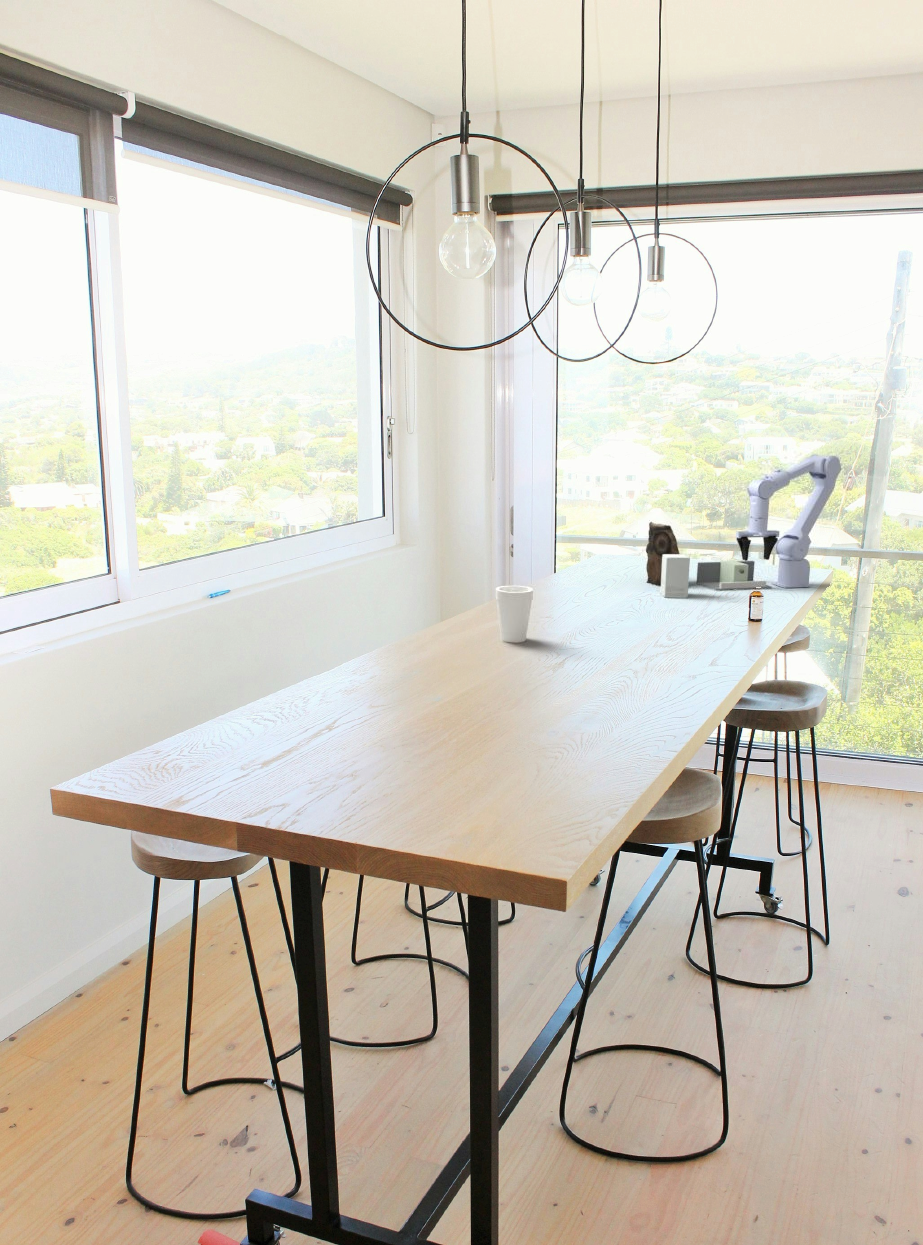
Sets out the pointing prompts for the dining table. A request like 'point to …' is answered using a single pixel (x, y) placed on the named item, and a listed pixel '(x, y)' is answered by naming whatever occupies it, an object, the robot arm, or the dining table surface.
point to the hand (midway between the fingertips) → (755, 559)
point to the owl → (659, 550)
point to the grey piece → (711, 578)
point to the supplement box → (675, 575)
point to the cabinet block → (733, 571)
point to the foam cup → (513, 612)
